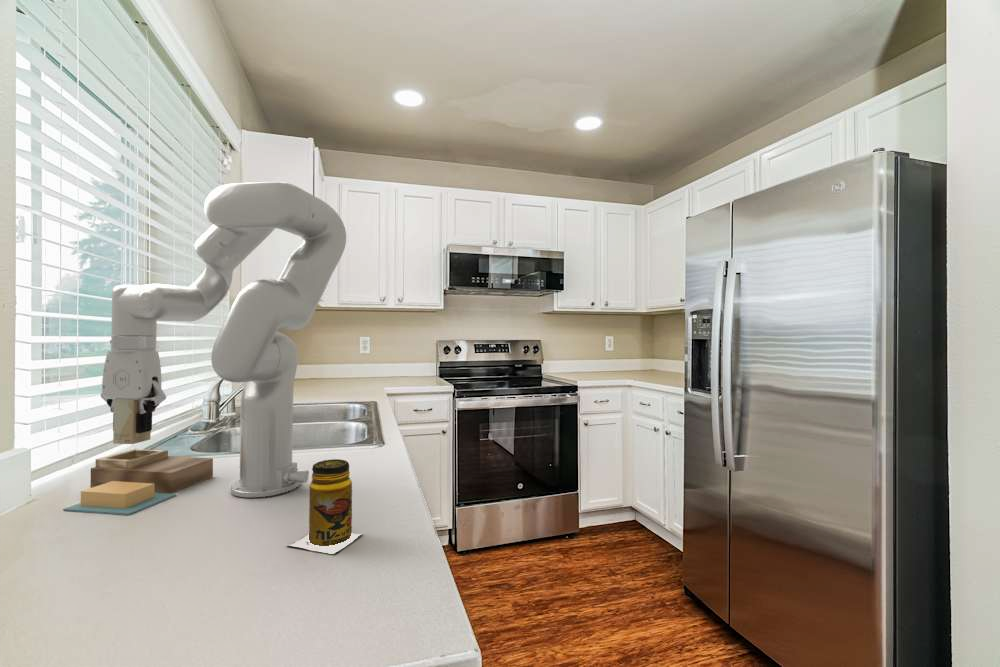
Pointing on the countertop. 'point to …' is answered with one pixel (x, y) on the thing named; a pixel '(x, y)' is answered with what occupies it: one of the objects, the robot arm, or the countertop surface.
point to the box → (127, 423)
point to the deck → (152, 469)
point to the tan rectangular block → (117, 494)
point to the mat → (122, 511)
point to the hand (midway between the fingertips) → (132, 430)
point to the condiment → (330, 503)
